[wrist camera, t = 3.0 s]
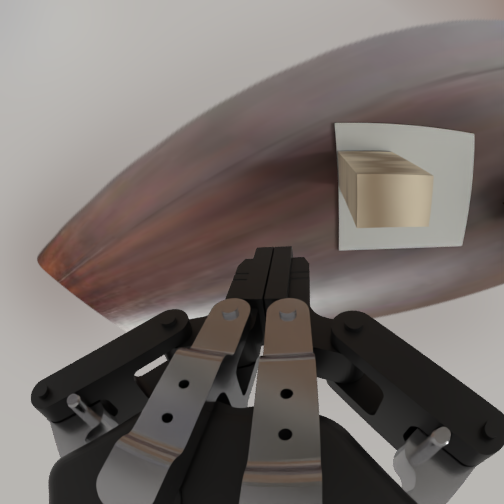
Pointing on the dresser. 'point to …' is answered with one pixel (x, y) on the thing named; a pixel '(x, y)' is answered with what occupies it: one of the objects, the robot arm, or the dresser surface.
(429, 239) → the felt mat
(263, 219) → the dresser surface
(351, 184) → the maple block
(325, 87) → the dresser surface
